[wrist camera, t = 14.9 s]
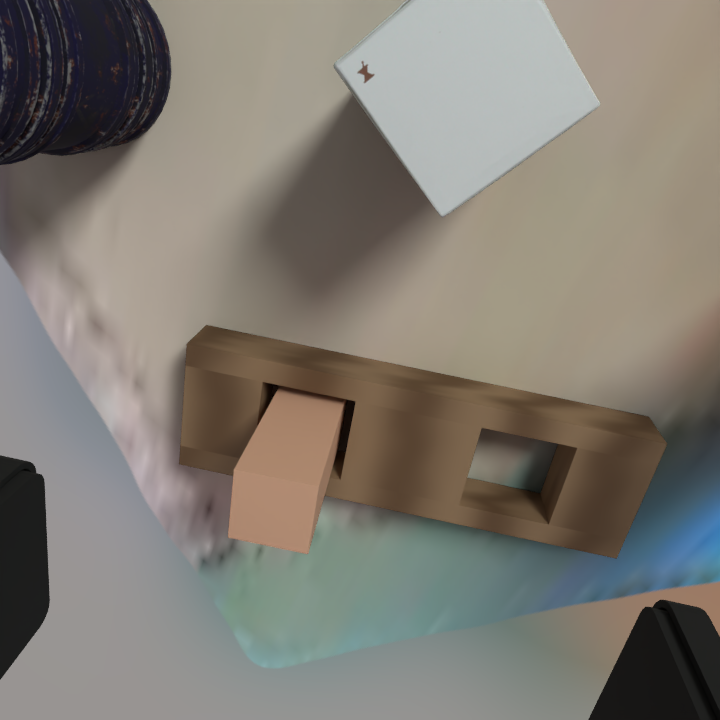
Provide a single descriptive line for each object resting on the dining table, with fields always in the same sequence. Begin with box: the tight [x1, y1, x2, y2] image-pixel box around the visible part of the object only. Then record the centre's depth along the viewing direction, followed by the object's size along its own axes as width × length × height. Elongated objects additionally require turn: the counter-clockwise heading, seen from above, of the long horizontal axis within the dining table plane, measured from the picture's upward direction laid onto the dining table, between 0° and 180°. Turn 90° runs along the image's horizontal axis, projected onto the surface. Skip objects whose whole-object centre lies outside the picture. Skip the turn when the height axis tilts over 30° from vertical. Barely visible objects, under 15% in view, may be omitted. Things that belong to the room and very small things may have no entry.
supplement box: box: [334, 0, 600, 217], centre depth 28 cm, size 7×7×13 cm
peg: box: [228, 386, 347, 554], centre depth 37 cm, size 4×4×12 cm
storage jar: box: [0, 0, 171, 165], centre depth 29 cm, size 10×10×15 cm
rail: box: [179, 325, 667, 559], centre depth 41 cm, size 30×9×4 cm, turn 80°
